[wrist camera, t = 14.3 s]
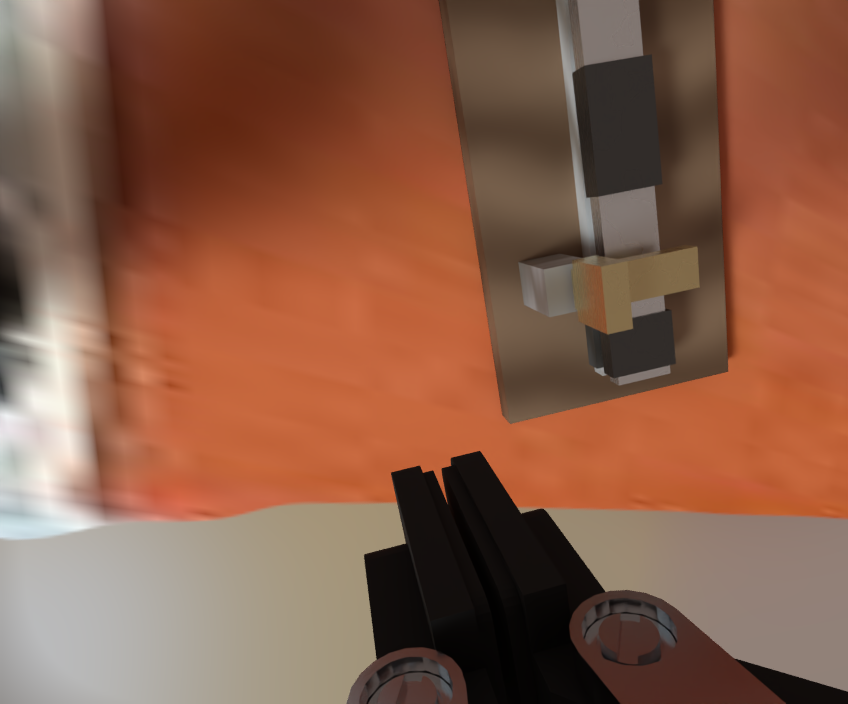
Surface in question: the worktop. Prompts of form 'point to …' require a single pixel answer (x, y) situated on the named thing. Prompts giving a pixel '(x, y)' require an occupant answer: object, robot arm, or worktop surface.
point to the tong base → (578, 192)
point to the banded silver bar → (621, 168)
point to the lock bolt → (629, 284)
